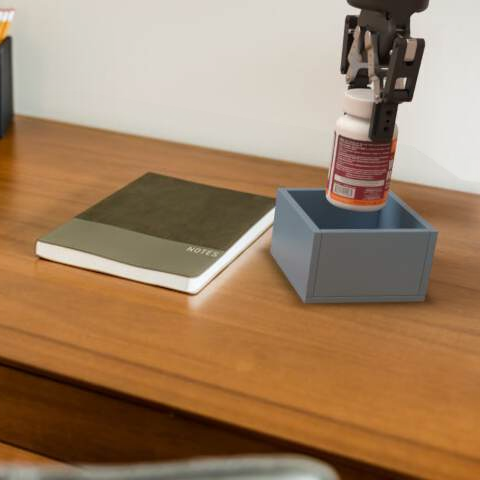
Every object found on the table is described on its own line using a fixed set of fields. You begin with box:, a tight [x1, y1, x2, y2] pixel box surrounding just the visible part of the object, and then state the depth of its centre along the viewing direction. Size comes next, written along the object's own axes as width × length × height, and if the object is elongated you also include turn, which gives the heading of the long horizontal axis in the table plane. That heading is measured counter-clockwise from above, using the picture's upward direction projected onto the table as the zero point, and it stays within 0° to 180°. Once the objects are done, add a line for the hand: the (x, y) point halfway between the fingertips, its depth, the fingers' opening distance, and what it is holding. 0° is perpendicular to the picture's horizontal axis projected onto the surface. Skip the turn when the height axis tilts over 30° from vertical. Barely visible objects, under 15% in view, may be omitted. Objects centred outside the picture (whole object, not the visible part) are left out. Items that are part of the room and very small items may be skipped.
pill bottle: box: [325, 88, 399, 212], centre depth 90 cm, size 6×6×11 cm
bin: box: [269, 187, 439, 304], centre depth 94 cm, size 13×13×8 cm
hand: (366, 130), depth 89 cm, fingers closed on pill bottle, 6 cm apart
